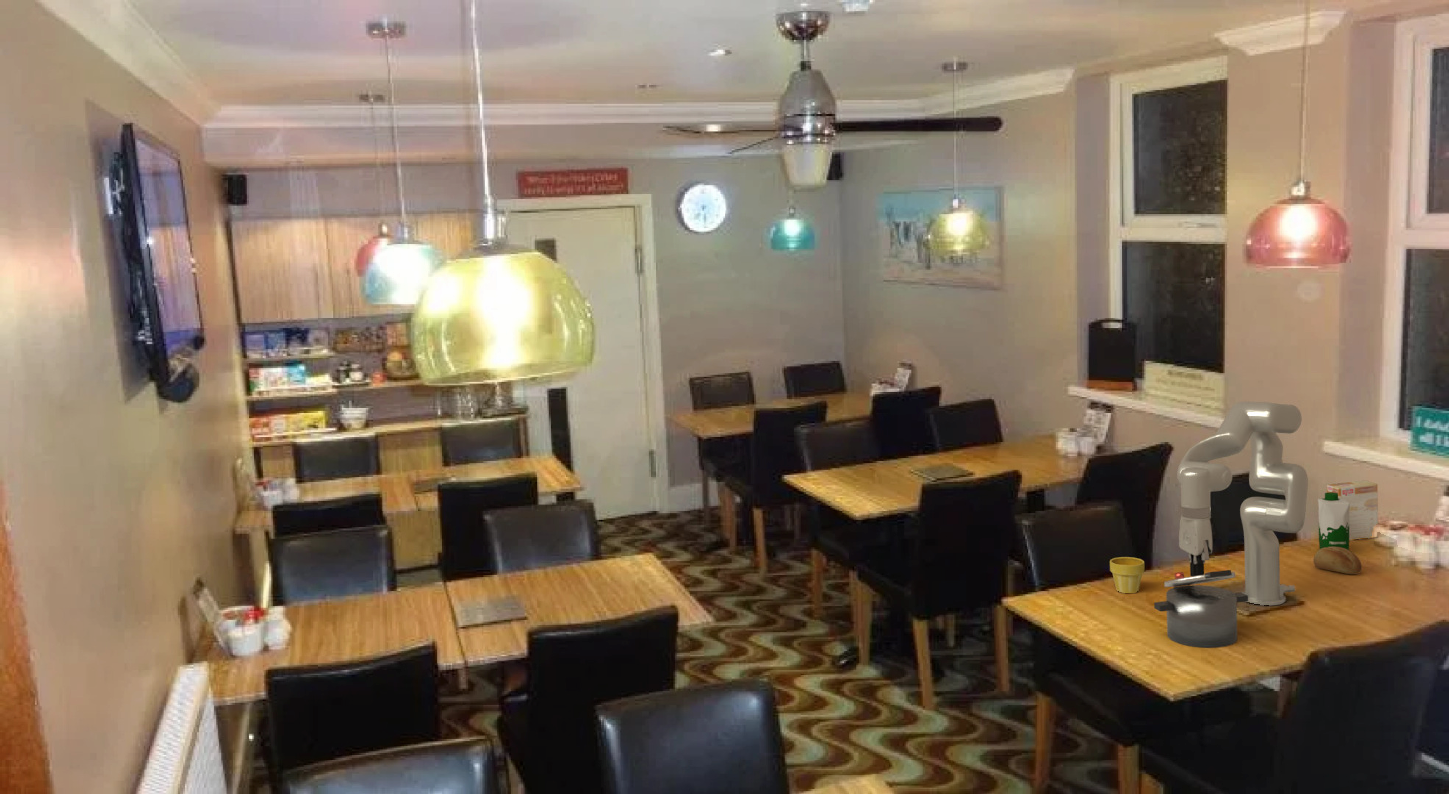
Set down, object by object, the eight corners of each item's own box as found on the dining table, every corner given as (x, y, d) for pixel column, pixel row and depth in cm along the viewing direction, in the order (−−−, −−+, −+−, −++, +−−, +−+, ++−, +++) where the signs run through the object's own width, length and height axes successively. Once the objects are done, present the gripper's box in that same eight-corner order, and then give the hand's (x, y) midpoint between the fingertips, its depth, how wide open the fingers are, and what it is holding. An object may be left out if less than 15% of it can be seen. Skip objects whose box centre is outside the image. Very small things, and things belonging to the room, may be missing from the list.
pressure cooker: (1224, 620, 328) (1224, 580, 326) (1264, 641, 309) (1263, 599, 307) (1140, 630, 324) (1138, 589, 323) (1174, 652, 306) (1173, 609, 304)
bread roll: (1350, 579, 356) (1350, 554, 355) (1305, 570, 369) (1305, 546, 368) (1368, 573, 361) (1368, 549, 360) (1323, 564, 374) (1323, 540, 373)
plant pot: (1140, 585, 365) (1139, 556, 364) (1149, 595, 355) (1148, 564, 354) (1107, 586, 366) (1106, 557, 365) (1115, 596, 356) (1114, 566, 355)
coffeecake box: (1365, 533, 405) (1364, 479, 403) (1378, 537, 398) (1378, 483, 396) (1326, 537, 404) (1325, 483, 401) (1339, 542, 397) (1339, 487, 394)
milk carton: (1343, 548, 389) (1342, 491, 386) (1353, 555, 380) (1352, 497, 377) (1315, 549, 390) (1315, 492, 388) (1325, 556, 381) (1324, 498, 379)
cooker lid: (1213, 582, 325) (1210, 571, 326) (1253, 573, 304) (1251, 561, 305) (1152, 589, 323) (1149, 578, 324) (1189, 580, 302) (1186, 568, 303)
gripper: (1169, 508, 320) (1170, 571, 322) (1197, 519, 305) (1198, 585, 308) (1194, 505, 321) (1195, 568, 323) (1223, 517, 306) (1224, 582, 309)
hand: (1197, 576), depth 316 cm, fingers closed
